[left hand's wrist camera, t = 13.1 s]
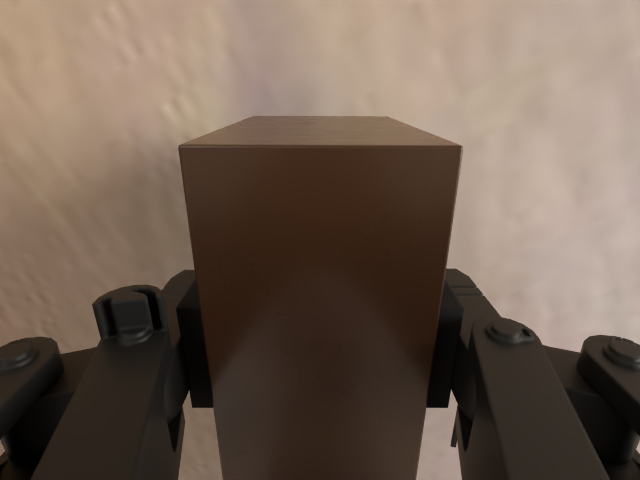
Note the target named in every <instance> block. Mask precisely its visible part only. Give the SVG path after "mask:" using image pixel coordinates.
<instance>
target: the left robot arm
mask: <svg viewBox="0 0 640 480" xmlns="http://www.w3.org/2000/svg"><path fill="white" fill-rule="evenodd" d="M92 306H93V310H94V314H95V317H96V321H97V325H98V329H99V333H100V337H101V340H100V342H99V344H98V346H97V347H95V348H91V349H86V350H81V351H75V352H70V353H65V354H60V351H59V348H58V345H57V342H55V341H54V340H53V339H51V338H46V337H33V338H24V339H20V340H16V341H12V342H10V343H8V344H6V345H4V346H2V347H0V440H1V443H2V445H3V447H4V449H5V452H4V453H3V454H2V455H1V456H0V480H178V475H179V467H180V459H181V451H182V443H183V435H184V426H185V418H184V412H183V403H184V401H185V399H186V396H187V394H188V392H189V390H190V396H191V402H192V408H213V401H212V394H211V386H210V379H209V371H208V364H207V357H206V349H205V342H204V334H203V327H202V320H201V312H200V305H199V297H198V290H197V282H196V275H195V270H184V271H182V272H180V273H179V274H177V275H176V276H174V277H172V278H171V279H170V280H169V282H168V283H167V284H166V285H165V287H164V289H162V291H161V290H160V289H158V288H157V287H154V286H150V285H133V286H127V287H122V288H119V289H116V290H113V291H110V292H108V293H106V294H105V295H103V296H101V297H99V298H98V299H97V300H96V301H95V302H94V303H93V304H92ZM451 389H452V392H453V394H454V396H455V399H456V401H457V403H458V406H457V412H456V417H455V423H454V429H453V434H452V440H451V447H456V443H457V442H458V450H459V458H460V466H461V474H462V480H640V454H639V453H638V452H637V450H636V448H637V446H638V443H639V441H640V345H639V344H636V343H634V342H633V341H631V340H628V339H625V338H623V339H622V338H621V337H616V336H605V335H597V336H590V337H588V338H587V339H586V340H585V341H584V343H583V346H582V349H581V352H580V353H579V352H574V351H568V350H563V349H558V348H553V347H548V346H545V345H542V343H541V341H540V339H539V338H538V336H537V335H536V334H535V333H534V332H533V331H532V330H531V329H529V328H528V327H526V326H525V325H523V324H521V323H518V322H516V321H513V320H511V319H506V318H502V317H501V316H500V315H499V314H498V313H497V311H496V310H495V309H494V307H493V306H492V305H491V304H490V302H489V301H488V300H487V299H486V297H485V296H483V294H482V292H481V291H480V290H479V289H478V288H476V285H475V284H474V282H473V281H472V280H471V279H470V277H469V276H467V275H465V274H464V273H462V272H460V271H459V270H457V269H446V272H445V279H444V286H443V293H442V300H441V307H440V314H439V321H438V328H437V335H436V342H435V349H434V356H433V363H432V370H431V377H430V384H429V391H428V398H427V405H426V408H448V404H449V398H450V392H451Z"/></svg>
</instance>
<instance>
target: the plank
mask: <svg viewBox="0 0 640 480" xmlns="http://www.w3.org/2000/svg"><path fill="white" fill-rule="evenodd" d="M178 149H179V156H180V164H181V171H182V178H183V186H184V193H185V201H186V208H187V216H188V223H189V230H190V238H191V245H192V253H193V260H194V268H195V275H196V282H197V290H198V297H199V305H200V312H201V320H202V327H203V334H204V342H205V349H206V357H207V364H208V371H209V379H210V386H211V394H212V401H213V409H214V416H215V423H216V431H217V438H218V446H219V453H220V461H221V468H222V475H223V480H416V475H417V468H418V461H419V454H420V447H421V440H422V433H423V426H424V419H425V412H426V405H427V398H428V391H429V384H430V377H431V370H432V363H433V356H434V349H435V342H436V335H437V328H438V321H439V314H440V307H441V300H442V293H443V286H444V279H445V272H446V265H447V258H448V251H449V244H450V237H451V230H452V223H453V216H454V209H455V202H456V195H457V188H458V181H459V174H460V167H461V160H462V153H463V147H462V146H461V145H458V144H456V143H453V142H451V141H448V140H446V139H443V138H440V137H438V136H435V135H433V134H430V133H428V132H425V131H423V130H420V129H417V128H415V127H412V126H410V125H407V124H405V123H402V122H400V121H397V120H395V119H392V118H389V117H363V116H252V117H250V118H247V119H245V120H242V121H240V122H237V123H235V124H232V125H229V126H227V127H224V128H222V129H219V130H217V131H214V132H212V133H209V134H206V135H204V136H201V137H199V138H196V139H194V140H191V141H189V142H186V143H184V144H181V145H179V147H178Z"/></svg>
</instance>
